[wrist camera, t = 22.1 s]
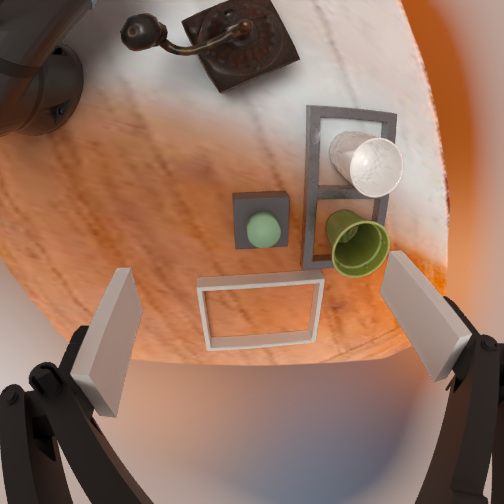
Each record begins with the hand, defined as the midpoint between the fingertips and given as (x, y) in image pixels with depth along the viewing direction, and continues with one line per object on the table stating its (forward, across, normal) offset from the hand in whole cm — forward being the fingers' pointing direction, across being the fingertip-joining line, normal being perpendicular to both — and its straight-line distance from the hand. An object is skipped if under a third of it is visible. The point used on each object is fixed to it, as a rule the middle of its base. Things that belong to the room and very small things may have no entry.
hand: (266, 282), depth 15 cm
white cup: (+32, +17, 0) cm, 36 cm away
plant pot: (+32, +17, -12) cm, 38 cm away
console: (+32, +3, -10) cm, 33 cm away
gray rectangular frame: (+32, +3, -28) cm, 43 cm away
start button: (+30, +3, -10) cm, 32 cm away
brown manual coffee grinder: (+32, -2, +15) cm, 35 cm away
